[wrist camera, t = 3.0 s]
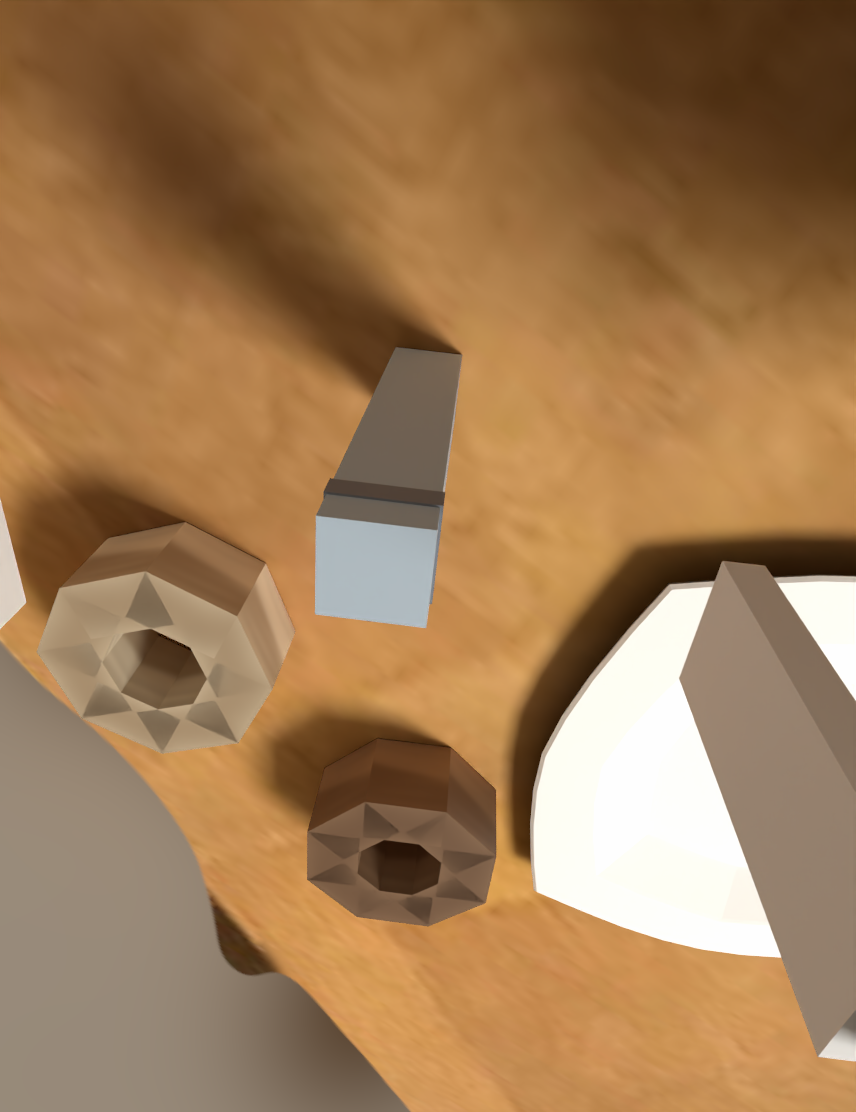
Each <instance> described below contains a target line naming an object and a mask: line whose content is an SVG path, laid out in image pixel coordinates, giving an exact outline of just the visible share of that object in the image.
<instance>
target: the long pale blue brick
mask: <svg viewBox="0 0 856 1112" xmlns="http://www.w3.org/2000/svg"><path fill="white" fill-rule="evenodd" d="M461 361H462V355H461V354H452V353H443V352H435V351H426V350H417V349H409V348H400V347H395V350H394V352H393V354H392V356H391V358H390V360H389V362H388V364H387V367H386V369H385V371H384V373H383V375H382V377H381V379H380V381H379V384H378V386H377V388H376V390H375V392H374V394H373V396H372V398H371V400H370V403H369V405H368V407H367V409H366V411H365V413H364V415H363V417H362V420H361V422H360V424H359V426H358V428H357V430H356V432H355V434H354V436H353V439H352V441H351V443H350V445H349V447H348V449H347V451H346V453H345V456H344V458H343V460H342V462H341V464H340V466H339V468H338V470H337V473H336V475H335V477H334V479H331V478H330V480H329V482H328V484H327V486H326V488H325V490H324V500H323V502H322V504H321V506H320V509H319V511H318V513H317V515H316V574H315V614H317V615H325V616H333V617H341V618H349V619H357V620H366V621H374V622H382V623H390V624H398V625H406V626H414V627H422V628H426V625H427V618H428V610H429V604H432V599H433V591H434V583H435V575H436V566H437V557H438V549H439V540H440V532H441V523H442V515H443V506H444V498H445V486H446V478H447V471H448V464H449V456H450V449H451V442H452V434H453V427H454V420H455V411H456V403H457V394H458V386H459V378H460V369H461Z"/></svg>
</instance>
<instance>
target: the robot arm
mask: <svg viewBox="0 0 856 1112" xmlns="http://www.w3.org/2000/svg"><path fill="white" fill-rule="evenodd" d="M25 603H26V599H25V595H24V591H23V587H22V583H21V579H20V575H19V571H18V567H17V563H16V559H15V555H14V551H13V547H12V543H11V539H10V535H9V531H8V527H7V524H6V520H5V516H4V512H3V508H2V504H1V500H0V629H1V628H2V627H3V626H4V625H5V624H6V623H7V622H8V621H9V620H10V619H11V618H12V617H13V616H14V615H15V614H16V613H17V612H18V610H19V609H20V608H21V607H22V606H23V605H24V604H25ZM679 680H680V683H681V685H682V688H683V691H684V694H685V696H686V699H687V702H688V704H689V707H690V710H691V713H692V715H693V718H694V721H695V724H696V726H697V729H698V732H699V734H700V737H701V740H702V743H703V745H704V748H705V751H706V754H707V756H708V759H709V762H710V764H711V767H712V770H713V773H714V775H715V778H716V781H717V783H718V786H719V789H720V792H721V794H722V797H723V800H724V803H725V805H726V808H727V811H728V813H729V816H730V819H731V822H732V824H733V827H734V830H735V832H736V835H737V838H738V841H739V843H740V846H741V849H742V852H743V854H744V857H745V860H746V862H747V865H748V868H749V871H750V873H751V876H752V879H753V882H754V884H755V887H756V890H757V892H758V895H759V898H760V901H761V903H762V906H763V909H764V911H765V914H766V917H767V920H768V922H769V925H770V928H771V931H772V933H773V936H774V939H775V941H776V944H777V947H778V950H779V952H780V955H781V958H782V961H783V963H784V966H785V969H786V971H787V974H788V977H789V980H790V982H791V985H792V988H793V990H794V993H795V996H796V999H797V1001H798V1004H799V1007H800V1010H801V1012H802V1015H803V1018H804V1020H805V1023H806V1026H807V1029H808V1031H809V1034H810V1037H811V1040H812V1042H813V1045H814V1048H815V1050H816V1053H817V1056H818V1057H824V1058H832V1059H840V1060H848V1061H856V700H855V699H854V697H853V696H852V694H851V693H850V691H849V690H848V689H847V687H846V686H845V684H844V683H843V681H842V680H841V678H840V677H839V675H838V674H837V672H836V671H835V669H834V668H833V666H832V665H831V663H830V662H829V660H828V659H827V657H826V656H825V654H824V653H823V651H822V650H821V648H820V647H819V645H818V644H817V642H816V641H815V639H814V638H813V636H812V635H811V633H810V632H809V630H808V629H807V627H806V626H805V624H804V623H803V621H802V620H801V618H800V617H799V615H798V614H797V612H796V611H795V609H794V608H793V606H792V605H791V603H790V602H789V600H788V599H787V597H786V596H785V594H784V593H783V591H782V590H781V588H780V587H779V585H778V584H777V582H776V581H775V579H774V578H773V576H772V575H771V574H770V572H769V571H768V569H767V568H766V566H764V565H755V564H746V563H737V562H729V561H722V563H721V566H720V568H719V571H718V574H717V577H716V579H715V582H714V585H713V587H712V590H711V593H710V596H709V598H708V601H707V604H706V606H705V609H704V612H703V615H702V617H701V620H700V623H699V625H698V628H697V631H696V634H695V636H694V639H693V642H692V644H691V647H690V650H689V653H688V655H687V658H686V661H685V663H684V666H683V669H682V672H681V674H680V677H679Z"/></svg>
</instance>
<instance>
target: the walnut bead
mask: <svg viewBox="0 0 856 1112" xmlns="http://www.w3.org/2000/svg"><path fill="white" fill-rule="evenodd" d="M495 859H496V790H495V789H494V788H493V787H492V786H491V785H490V784H489V783H488V782H487V781H486V780H485V779H484V778H483V777H481V776H480V775H479V774H478V773H477V772H476V771H475V770H474V769H473V768H472V767H471V766H470V765H469V764H468V763H467V762H466V761H465V760H463V759H462V758H461V757H460V756H459V755H458V754H457V753H456V752H455V751H454V750H453V749H452V748H449V747H441V746H433V745H425V744H417V743H409V742H401V741H394V740H386V739H378V738H377V739H375V740H374V741H372V742H370V743H368V744H367V745H365V746H363V747H361V748H359V749H358V750H356V751H354V752H352V753H351V754H349V755H347V756H345V757H343V758H342V759H340V760H338V761H336V762H335V763H333V764H331V765H329V766H327V767H326V768H324V772H323V776H322V779H321V783H320V787H319V791H318V794H317V798H316V802H315V806H314V809H313V813H312V817H311V821H310V824H309V828H308V832H307V880H308V881H310V882H311V883H312V884H314V885H315V886H316V887H318V888H319V889H320V890H322V891H323V892H325V893H326V894H327V895H329V896H330V897H331V898H333V899H334V900H335V901H337V902H338V903H339V904H341V905H342V906H343V907H345V908H346V909H347V910H349V911H350V912H351V913H353V914H354V915H355V916H357V917H361V918H369V919H376V920H384V921H392V922H399V923H407V924H414V925H422V926H430V925H433V924H435V923H438V922H440V921H442V920H445V919H447V918H450V917H452V916H455V915H457V914H460V913H462V912H465V911H467V910H470V909H472V908H474V907H477V906H479V905H482V904H484V903H486V899H487V894H488V890H489V885H490V881H491V877H492V872H493V868H494V864H495Z"/></svg>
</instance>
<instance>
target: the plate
mask: <svg viewBox="0 0 856 1112" xmlns="http://www.w3.org/2000/svg"><path fill="white" fill-rule="evenodd" d="M773 578H774V579H775V581H776V582H777V584H778V585H779V587H780V588H781V590H782V591H783V593H784V594H785V596H786V597H787V599H788V600H789V602H790V603H791V605H792V606H793V608H794V609H795V611H796V612H797V614H798V615H799V617H800V618H801V620H802V621H803V623H804V624H805V626H806V627H807V629H808V630H809V632H810V633H811V635H812V636H813V638H814V639H815V641H816V642H817V644H818V645H819V647H820V648H821V650H822V651H823V653H824V654H825V656H826V657H827V659H828V660H829V662H830V663H831V665H832V666H833V668H834V669H835V671H836V672H837V674H838V675H839V677H840V678H841V680H842V681H843V683H844V684H845V686H846V687H847V689H848V690H849V691H850V693H851V694H852V696H853V697H854V699H855V700H856V575H823V574H814V575H792V576H773ZM714 582H715V580H703V581H689V582H674V583H668V585H667V586H666V587H665V588H664V589H663V590H662V591H661V592H660V593H659V594H658V596H657V597H656V598H655V599H654V600H653V601H652V602H651V603H650V604H649V605H648V607H647V608H646V609H645V610H644V611H643V612H642V613H641V614H640V615H639V617H638V618H637V619H636V620H635V621H634V622H633V623H632V624H631V625H630V627H629V628H628V629H627V630H626V631H625V633H624V634H623V635H622V636H621V637H620V639H619V640H618V641H617V642H616V644H615V645H614V646H613V647H612V648H611V650H610V651H609V652H608V653H607V655H606V656H605V657H604V658H603V659H602V661H601V662H600V663H599V664H598V665H597V667H596V668H595V669H594V670H593V672H592V673H591V674H590V676H589V677H588V678H587V680H586V681H585V683H584V684H583V686H582V687H581V689H580V690H579V691H578V693H577V694H576V696H575V697H574V699H573V700H572V701H571V703H570V704H569V706H568V707H567V709H566V710H565V711H564V713H563V715H562V717H561V718H560V720H559V722H558V724H557V726H556V728H555V730H554V732H553V733H552V735H551V737H550V739H549V741H548V743H547V745H546V747H545V748H544V750H543V752H542V755H541V759H540V763H539V768H538V772H537V776H536V780H535V784H534V788H533V798H532V809H531V820H530V842H531V867H532V876H533V886H534V890H535V891H536V892H538V893H541V894H543V895H545V896H548V897H550V898H552V899H555V900H557V901H559V902H562V903H564V904H567V905H569V906H571V907H574V908H576V909H578V910H581V911H583V912H586V913H588V914H591V915H593V916H596V917H598V918H601V919H603V920H606V921H608V922H611V923H613V924H616V925H618V926H621V927H624V928H627V929H630V930H633V931H636V932H639V933H643V934H646V935H649V936H652V937H655V938H658V939H661V940H664V941H669V942H673V943H677V944H681V945H686V946H690V947H694V948H698V949H704V950H711V951H718V952H725V953H732V954H740V955H752V956H767V957H781V955H780V952H779V950H778V947H777V944H776V941H775V939H774V936H773V933H772V931H771V928H770V925H769V922H768V920H767V917H766V914H765V911H764V909H763V906H762V903H761V901H760V898H759V895H758V892H757V890H756V887H755V884H754V882H753V879H752V876H751V873H750V871H749V868H748V865H747V862H746V860H745V857H744V854H743V852H742V849H741V846H740V843H739V841H738V838H737V835H736V832H735V830H734V827H733V824H732V822H731V819H730V816H729V813H728V811H727V808H726V805H725V803H724V800H723V797H722V794H721V792H720V789H719V786H718V783H717V781H716V778H715V775H714V773H713V770H712V767H711V764H710V762H709V759H708V756H707V754H706V751H705V748H704V745H703V743H702V740H701V737H700V734H699V732H698V729H697V726H696V724H695V721H694V718H693V715H692V713H691V710H690V707H689V704H688V702H687V699H686V696H685V694H684V691H683V688H682V685H681V683H680V680H679V677H680V674H681V672H682V669H683V666H684V663H685V661H686V658H687V655H688V653H689V650H690V647H691V644H692V642H693V639H694V636H695V634H696V631H697V628H698V625H699V623H700V620H701V617H702V615H703V612H704V609H705V606H706V604H707V601H708V598H709V596H710V593H711V590H712V587H713V585H714Z"/></svg>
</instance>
